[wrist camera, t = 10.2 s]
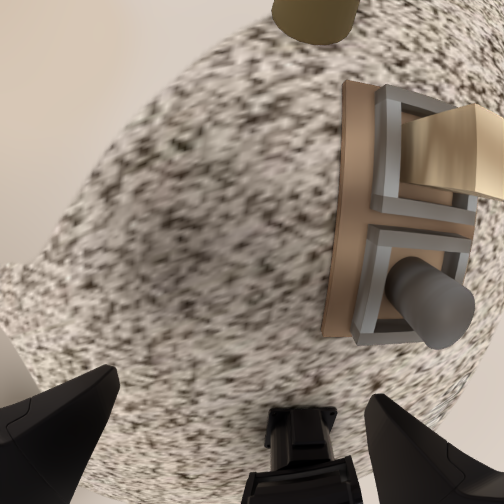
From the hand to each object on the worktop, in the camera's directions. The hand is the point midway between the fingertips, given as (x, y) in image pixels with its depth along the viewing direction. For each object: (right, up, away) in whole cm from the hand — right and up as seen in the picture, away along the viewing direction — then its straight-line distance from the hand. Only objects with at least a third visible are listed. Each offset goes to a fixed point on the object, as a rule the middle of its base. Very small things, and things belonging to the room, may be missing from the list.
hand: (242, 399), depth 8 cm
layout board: (+12, +7, +10) cm, 17 cm away
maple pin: (+12, +11, +8) cm, 18 cm away
